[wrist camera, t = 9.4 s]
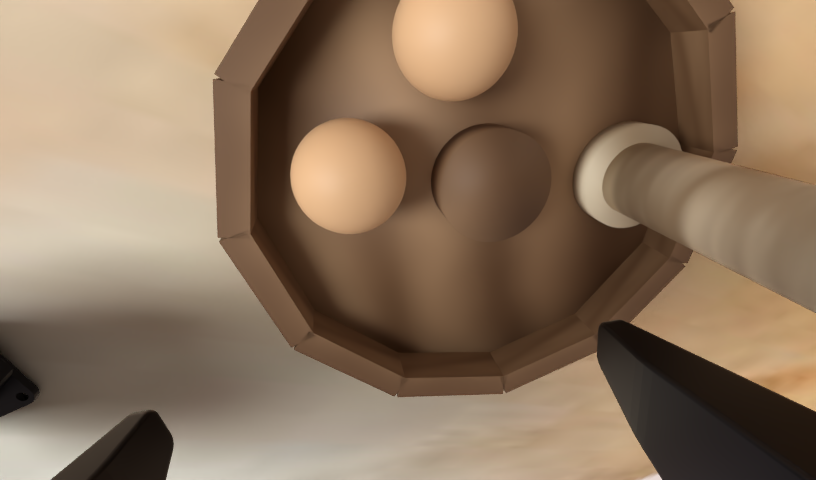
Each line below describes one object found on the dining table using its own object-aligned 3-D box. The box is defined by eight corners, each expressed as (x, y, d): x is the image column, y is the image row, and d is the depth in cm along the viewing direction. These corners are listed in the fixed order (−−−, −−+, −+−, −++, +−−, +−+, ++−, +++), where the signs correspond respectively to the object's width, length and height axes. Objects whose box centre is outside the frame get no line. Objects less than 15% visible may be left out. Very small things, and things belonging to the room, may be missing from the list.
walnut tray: (361, 414, 25) (365, 456, 22) (111, 25, 15) (66, 17, 13) (695, 262, 25) (740, 286, 23) (659, -215, 16) (729, -272, 13)
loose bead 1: (322, 227, 19) (323, 271, 15) (274, 137, 17) (260, 161, 13) (410, 187, 19) (434, 222, 15) (372, 94, 17) (387, 104, 13)
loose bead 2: (408, 113, 18) (433, 129, 14) (366, 2, 16) (381, -17, 12) (502, 71, 18) (554, 75, 14) (471, -45, 16) (522, -79, 12)
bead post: (603, 237, 22) (1018, 498, 9) (554, 174, 20) (996, 391, 7) (679, 170, 21) (1253, 348, 8) (635, 97, 19) (1304, 179, 6)
